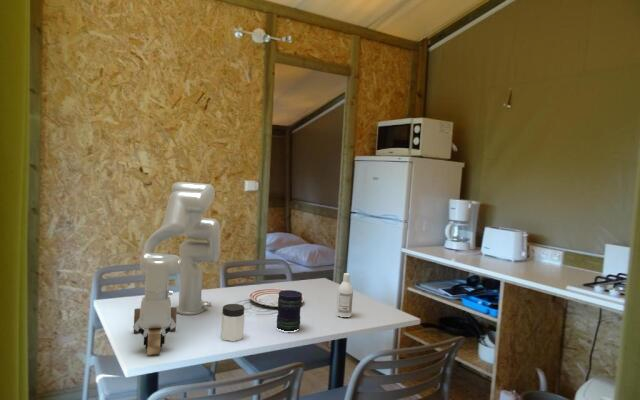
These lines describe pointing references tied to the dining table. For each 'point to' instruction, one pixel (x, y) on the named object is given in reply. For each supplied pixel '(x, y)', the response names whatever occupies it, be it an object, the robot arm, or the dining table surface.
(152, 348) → the block
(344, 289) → the bath foam
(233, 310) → the jar
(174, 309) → the right post
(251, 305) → the dining table surface
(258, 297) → the dinner plate
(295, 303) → the storage jar
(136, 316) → the left post
